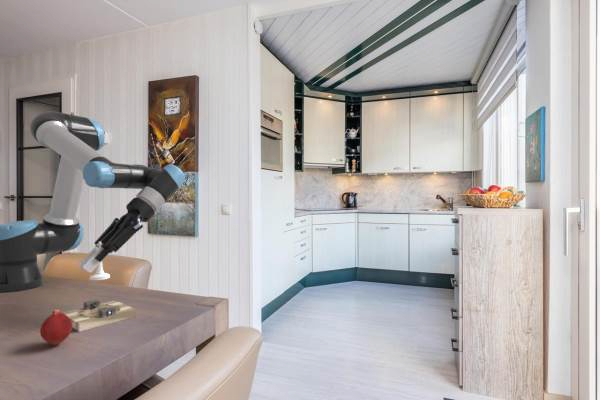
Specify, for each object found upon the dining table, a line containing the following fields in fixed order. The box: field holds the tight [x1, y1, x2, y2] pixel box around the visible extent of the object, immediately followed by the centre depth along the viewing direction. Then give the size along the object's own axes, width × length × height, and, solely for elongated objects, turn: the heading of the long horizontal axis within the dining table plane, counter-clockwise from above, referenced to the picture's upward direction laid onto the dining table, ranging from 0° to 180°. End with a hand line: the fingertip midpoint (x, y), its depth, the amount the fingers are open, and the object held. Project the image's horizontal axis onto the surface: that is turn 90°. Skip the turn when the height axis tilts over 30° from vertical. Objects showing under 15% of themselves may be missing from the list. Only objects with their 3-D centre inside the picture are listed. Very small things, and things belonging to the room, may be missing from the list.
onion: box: [39, 309, 73, 346], centre depth 76 cm, size 6×6×8 cm
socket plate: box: [62, 299, 137, 333], centre depth 92 cm, size 12×14×4 cm
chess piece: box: [88, 241, 111, 281], centre depth 92 cm, size 5×5×10 cm
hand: (83, 269), depth 89 cm, fingers closed on chess piece, 2 cm apart
